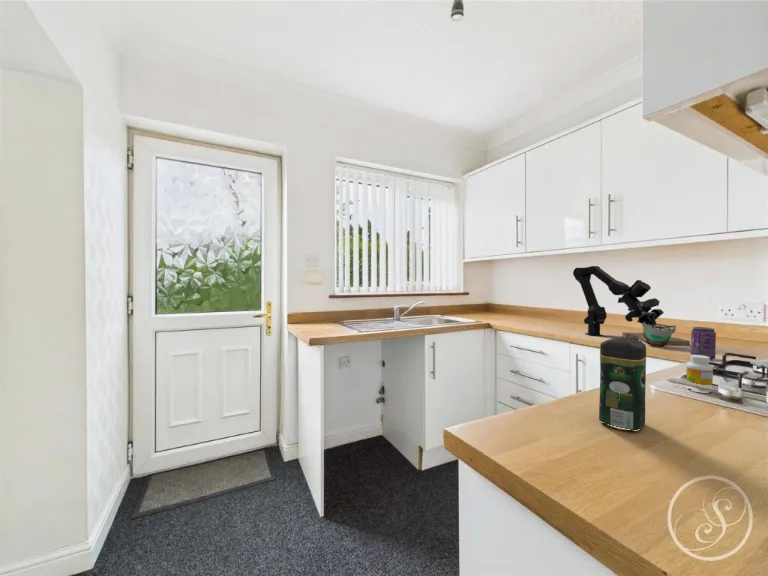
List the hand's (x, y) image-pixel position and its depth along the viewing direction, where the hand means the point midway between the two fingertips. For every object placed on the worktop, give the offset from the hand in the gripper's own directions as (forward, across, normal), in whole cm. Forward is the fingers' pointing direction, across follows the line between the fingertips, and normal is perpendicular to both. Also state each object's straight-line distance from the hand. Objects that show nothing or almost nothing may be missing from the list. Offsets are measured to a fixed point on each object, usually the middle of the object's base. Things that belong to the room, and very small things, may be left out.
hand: (657, 329), depth 158 cm
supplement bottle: (+40, -56, -28) cm, 74 cm away
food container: (+5, 0, +5) cm, 7 cm away
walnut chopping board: (-3, +15, +14) cm, 21 cm away
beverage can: (+22, -8, -10) cm, 25 cm away
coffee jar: (+46, -98, -34) cm, 113 cm away
